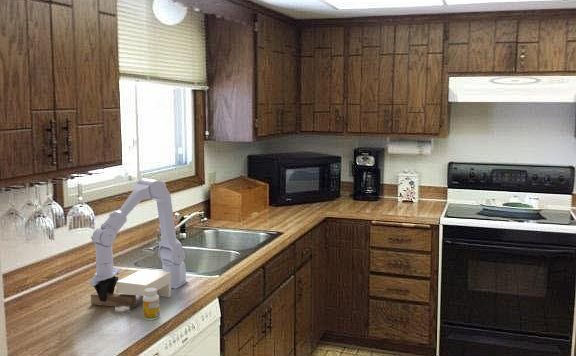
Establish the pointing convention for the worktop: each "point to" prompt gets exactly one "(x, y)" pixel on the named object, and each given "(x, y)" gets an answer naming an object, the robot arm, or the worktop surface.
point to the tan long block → (114, 299)
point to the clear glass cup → (122, 308)
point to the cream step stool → (146, 283)
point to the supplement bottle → (151, 304)
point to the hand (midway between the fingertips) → (106, 299)
